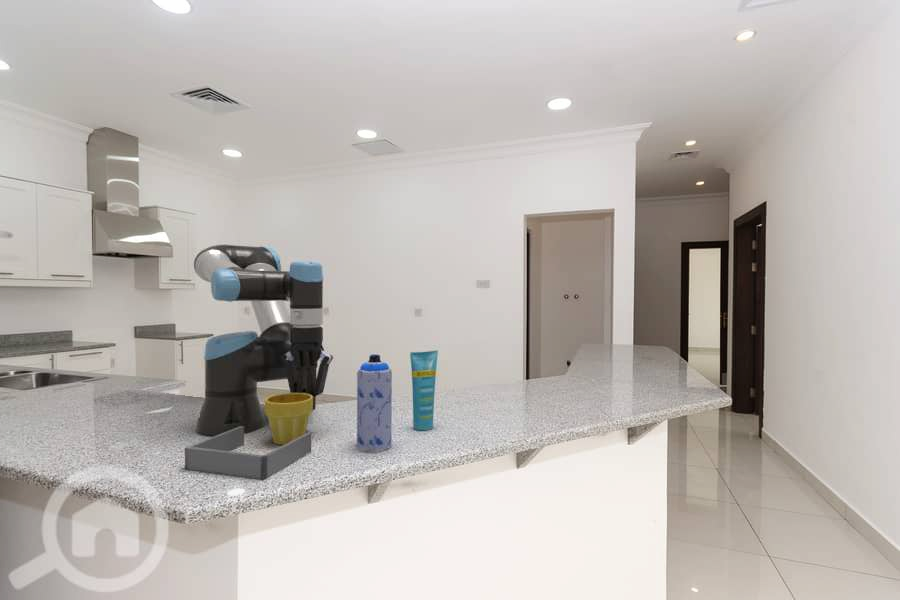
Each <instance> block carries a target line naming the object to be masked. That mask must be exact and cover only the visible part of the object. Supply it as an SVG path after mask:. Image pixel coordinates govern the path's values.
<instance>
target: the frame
mask: <svg viewBox="0 0 900 600" xmlns="http://www.w3.org/2000/svg"><path fill="white" fill-rule="evenodd" d="M244 445H245V433H244V426H240V427H237V428H234V429H232V430H229V431H227V432H224V433H222V434H219V435H217V436H212V437H211V436H210V437H209V438H207V439H204V440H201V441H199V442H196V443H194V444H192V445H189V446H186V447H184V470H189V471H191V470H192V471H198V472H206V473H213V474H219V475H220V474H221V475H227V476H235V477H242V478H249V477H250V478H251V479H257V478H259V479H258V480H264V481H265V480H266V479H268V478H269V476H270V477H271V476H273V475H274V473H275V474H276V473H278V472H280V471H281V470H283V469H285V468H286V467H288V466H290V465H292V464H293V463H295V462H297V461H298V460H300V459H301V457H302V458H303V457H305V456H306V454H307V453H308V454H310V453H311V452H312V432H305V434H304V435H302V436H300V437H298V438H296V439H294V440H292V441H291V442H289V443H287V444H285V445H281V446H279V447H277V448H274V449H273V450H271V451H269V452H267V453H265V454H254V453H245V452H240V451H239V452H238V451H232V450H234V449H237V448H239V447H242V446H244ZM309 452H310V453H309ZM308 454H307V455H308ZM304 455H305V456H304ZM299 458H300V459H299ZM297 459H298V460H297ZM296 460H297V461H296ZM294 461H295V462H294ZM292 462H293V463H292ZM289 464H290V465H289ZM284 467H285V468H284ZM272 474H273V475H272ZM250 478H249V479H250Z"/></svg>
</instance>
